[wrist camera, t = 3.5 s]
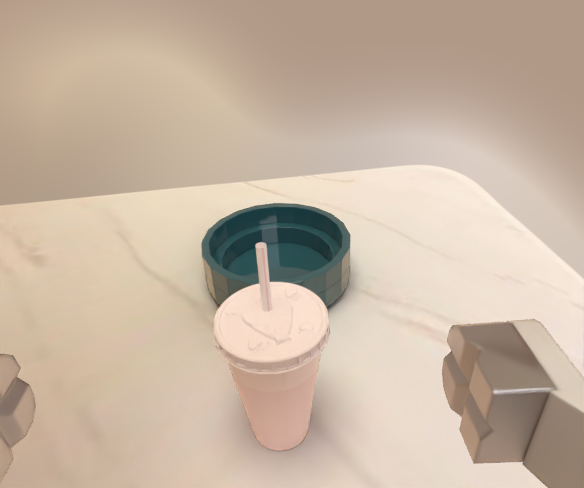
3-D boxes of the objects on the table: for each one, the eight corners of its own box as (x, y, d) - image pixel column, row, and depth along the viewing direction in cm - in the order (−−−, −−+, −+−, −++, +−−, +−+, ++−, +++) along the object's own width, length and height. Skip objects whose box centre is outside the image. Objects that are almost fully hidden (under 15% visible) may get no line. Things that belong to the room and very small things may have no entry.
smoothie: (305, 373, 33) (298, 208, 25) (347, 447, 28) (354, 269, 20) (221, 404, 31) (186, 235, 23) (250, 489, 26) (218, 310, 18)
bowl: (180, 282, 43) (171, 243, 40) (278, 226, 51) (275, 191, 48) (279, 351, 35) (276, 308, 32) (376, 272, 43) (379, 232, 40)
